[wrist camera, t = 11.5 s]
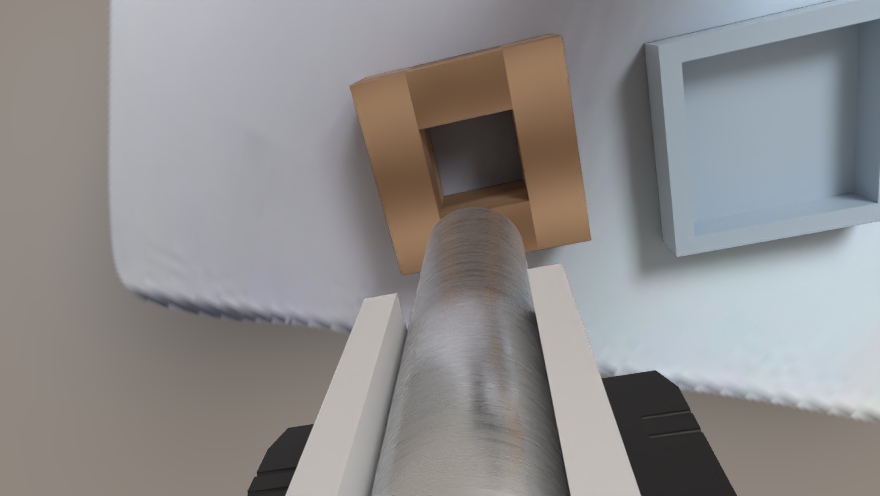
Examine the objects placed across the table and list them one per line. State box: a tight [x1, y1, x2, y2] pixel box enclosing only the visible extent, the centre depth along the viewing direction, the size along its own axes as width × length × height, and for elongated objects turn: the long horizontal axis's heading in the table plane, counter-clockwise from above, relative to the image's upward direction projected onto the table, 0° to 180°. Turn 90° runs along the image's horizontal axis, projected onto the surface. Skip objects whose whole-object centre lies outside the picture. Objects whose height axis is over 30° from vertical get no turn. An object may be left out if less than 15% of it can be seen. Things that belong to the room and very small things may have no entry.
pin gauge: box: [371, 207, 570, 496], centre depth 11 cm, size 3×3×14 cm
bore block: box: [350, 34, 591, 275], centre depth 30 cm, size 10×10×4 cm
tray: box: [644, 0, 880, 257], centre depth 29 cm, size 11×11×2 cm
